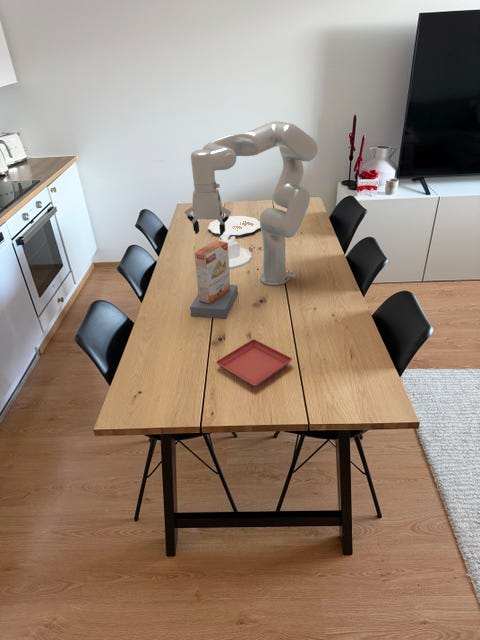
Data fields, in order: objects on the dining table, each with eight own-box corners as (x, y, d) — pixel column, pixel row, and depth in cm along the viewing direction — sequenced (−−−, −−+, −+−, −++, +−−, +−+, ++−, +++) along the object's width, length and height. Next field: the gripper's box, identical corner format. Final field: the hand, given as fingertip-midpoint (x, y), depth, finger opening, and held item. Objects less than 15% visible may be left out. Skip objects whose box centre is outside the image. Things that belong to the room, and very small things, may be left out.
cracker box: (210, 304, 182) (205, 255, 171) (198, 301, 185) (193, 251, 174) (231, 289, 192) (228, 241, 181) (219, 286, 195) (215, 239, 184)
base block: (237, 293, 197) (237, 285, 195) (225, 318, 181) (225, 309, 179) (205, 291, 200) (204, 283, 198) (191, 315, 184) (190, 306, 182)
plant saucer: (215, 369, 155) (214, 361, 153) (253, 345, 165) (253, 337, 163) (255, 393, 143) (254, 385, 142) (293, 366, 154) (293, 358, 152)
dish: (218, 245, 243) (216, 224, 237) (260, 253, 231) (260, 231, 225) (190, 264, 225) (187, 242, 219) (234, 274, 214) (233, 251, 208)
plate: (200, 226, 268) (200, 222, 267) (247, 216, 278) (247, 212, 277) (220, 243, 245) (220, 238, 244) (270, 232, 255) (270, 227, 254)
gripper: (231, 184, 167) (234, 229, 176) (185, 183, 171) (190, 228, 180) (226, 190, 161) (229, 237, 170) (178, 190, 164) (184, 236, 174)
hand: (209, 233), depth 175 cm, fingers open, 9 cm apart
